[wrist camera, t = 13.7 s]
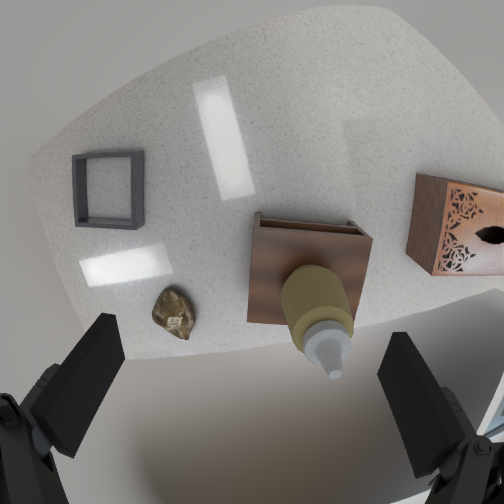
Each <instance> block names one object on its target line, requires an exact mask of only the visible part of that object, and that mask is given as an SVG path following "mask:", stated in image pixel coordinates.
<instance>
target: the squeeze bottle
mask: <svg viewBox="0 0 504 504" xmlns="http://www.w3.org/2000/svg"><path fill="white" fill-rule="evenodd" d="M281 303H282V308H283V311H284V314H285V317H286V320H287V324H288V327H289V330H290V333H291V337H292V340H293V342H294V344H295V345H296V347H297V349H298V350H299V351H301V352H302V353H304V355H305V357H306V358H307V360H308V361H309V362H311V363H312V364H314V365H318V366H323V368H324V370H325V371H326V373H327V374H328V376H329V378H330V379H338V378H340V377H341V375H342V360H343V359H344V358H345V357H346V356H347V355H348V353H349V351H350V349H351V337H352V335H353V331H354V322H353V319H352V315H351V311H350V308H349V304H348V301H347V298H346V294H345V291H344V287H343V285H342V283H341V281H340V279H339V277H338V276H337V275H336V274H335V273H333V272H332V271H331V270H329V269H327V268H324V267H321V266H317V265H314V264H308V265H303V266H301V267H299V268H297V269H295V270H294V272H293V273H292V274H291V275H290V276H289V278H288V279H287V280H286V282H285V283H284V286H283V289H282V292H281Z"/></svg>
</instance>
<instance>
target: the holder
mask: <svg viewBox="0 0 504 504" xmlns="http://www.w3.org/2000/svg"><path fill="white" fill-rule="evenodd" d="M125 156H131V209H132V220H130V219H108V218H88V209H87V187H86V159H87V158H103V157H125ZM72 182H73V204H74V218H75V227H91V228H109V229H126V230H137V229H139V228H140V227H142V226H143V225H144V151H118V152H101V153H87V154H77V155H72Z"/></svg>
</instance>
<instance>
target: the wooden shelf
mask: <svg viewBox="0 0 504 504" xmlns="http://www.w3.org/2000/svg"><path fill="white" fill-rule="evenodd" d="M372 241H373V239H372V238H371V237H370V236H369V235H368V234H367V233H366V232H365V231H363V230H362V229H361V228H360V227H359V226H358V225H357V224H355V223H354V222H353V221H349V220H348V225H347V226H344V225H334V224H323V223H313V222H301V221H290V220H278V219H265V218H260V212H255V220H254V229H253V242H252V256H251V270H250V284H249V298H248V312H247V322H251V323H264V324H280V325H288V324H287V320H286V317H285V314H284V311H283V308H282V303H281V292H282V289H283V286H284V283H285V282H286V280H287V279H288V278H289V276H290V275H291V274H292V273H293V272H294V270H295V269H297V268H299V267H301V266H303V265H308V264H314V265H317V266H321V267H324V268H327V269H329V270H331V271H332V272H333V273H335V274H336V275H337V276H338V277H339V279H340V281H341V283H342V285H343V287H344V291H345V294H346V298H347V301H348V304H349V308H350V311H351V315H352V319H353V322H354V320H355V316H356V312H357V309H358V305H359V301H360V297H361V292H362V288H363V284H364V280H365V275H366V271H367V266H368V261H369V256H370V251H371V246H372Z"/></svg>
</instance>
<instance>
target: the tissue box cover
mask: <svg viewBox="0 0 504 504" xmlns="http://www.w3.org/2000/svg"><path fill="white" fill-rule="evenodd" d="M406 254H407V255H408V256H409V257H411V258H412V259H413V260H414V261H415V262H416V263H418V264H419V265H420V266H421V267H422V268H423V269H425V270H426V271H427V272H428V273H429V274H430V275H431V276H487V275H504V191H501V190H497V189H493V188H489V187H485V186H480V185H476V184H471V183H466V182H461V181H456V180H451V179H446V178H441V177H435V176H429V175H423V174H417V175H416V185H415V195H414V203H413V211H412V218H411V225H410V232H409V238H408V244H407V249H406Z"/></svg>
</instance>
